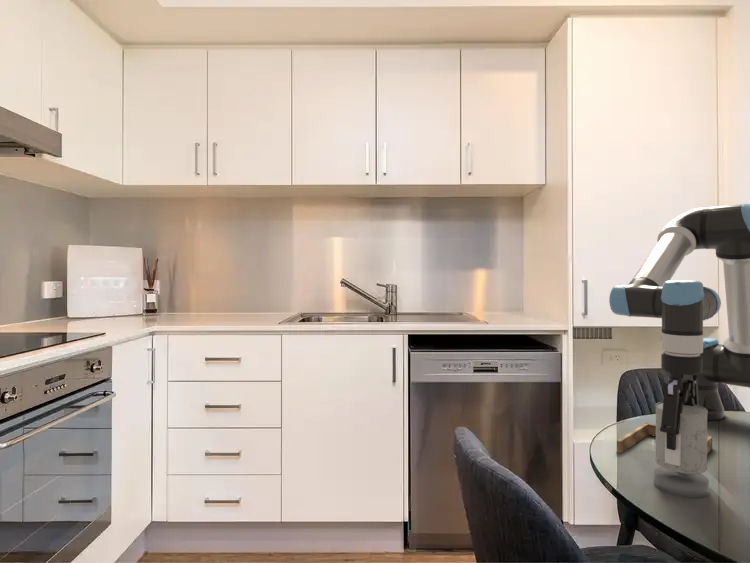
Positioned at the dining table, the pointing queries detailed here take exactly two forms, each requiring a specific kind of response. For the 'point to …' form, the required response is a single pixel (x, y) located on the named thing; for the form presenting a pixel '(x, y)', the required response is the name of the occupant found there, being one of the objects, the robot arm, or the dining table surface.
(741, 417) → the dining table surface
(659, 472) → the pedestal
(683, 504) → the dining table surface
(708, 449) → the frame
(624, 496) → the dining table surface
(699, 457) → the grey marbled pot
